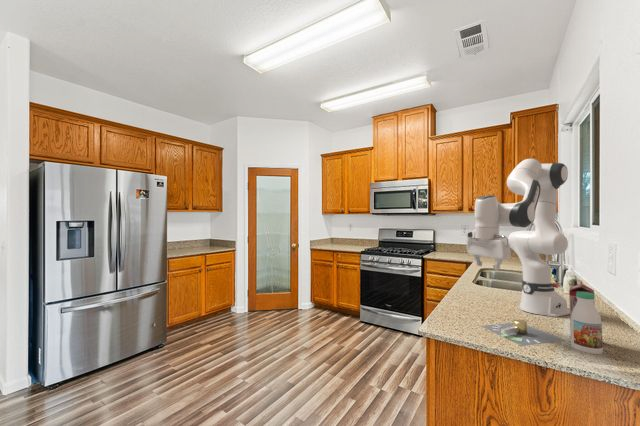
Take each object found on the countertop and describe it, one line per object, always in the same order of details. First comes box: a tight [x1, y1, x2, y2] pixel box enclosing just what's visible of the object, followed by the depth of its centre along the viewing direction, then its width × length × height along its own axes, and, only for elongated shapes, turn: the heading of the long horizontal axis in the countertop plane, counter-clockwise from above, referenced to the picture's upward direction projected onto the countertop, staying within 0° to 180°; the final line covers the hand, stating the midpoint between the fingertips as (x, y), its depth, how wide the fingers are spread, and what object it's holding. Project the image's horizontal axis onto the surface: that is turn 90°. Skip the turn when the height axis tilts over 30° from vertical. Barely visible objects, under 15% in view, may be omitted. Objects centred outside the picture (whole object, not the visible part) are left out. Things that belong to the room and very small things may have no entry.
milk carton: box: [569, 280, 596, 331], centre depth 106 cm, size 7×7×22 cm
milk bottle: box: [570, 291, 604, 355], centre depth 97 cm, size 8×8×20 cm
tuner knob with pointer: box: [501, 319, 528, 334], centre depth 110 cm, size 12×4×4 cm, turn 113°
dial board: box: [481, 322, 566, 347], centre depth 111 cm, size 19×19×1 cm
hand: (487, 267), depth 119 cm, fingers open, 8 cm apart
